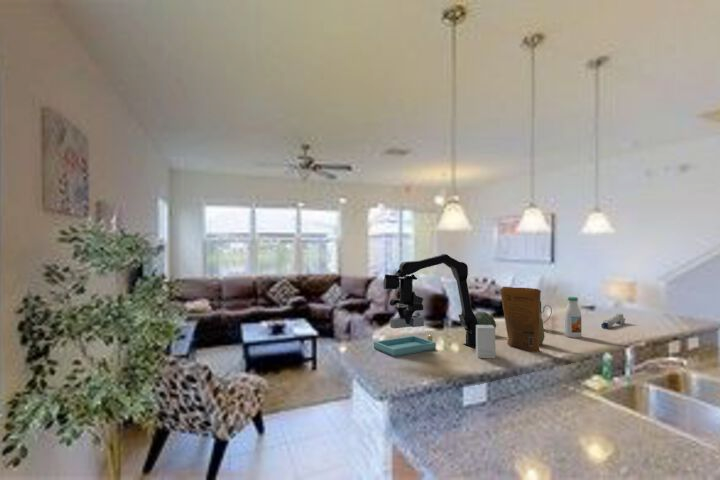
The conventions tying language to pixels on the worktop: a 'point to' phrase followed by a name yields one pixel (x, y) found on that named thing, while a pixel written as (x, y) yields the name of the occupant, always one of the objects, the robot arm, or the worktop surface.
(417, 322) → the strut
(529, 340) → the pancake mix bag
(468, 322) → the robot arm
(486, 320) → the vegetable
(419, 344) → the bin
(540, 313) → the glass holder
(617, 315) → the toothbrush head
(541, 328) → the squeeze bottle
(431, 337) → the ball stud
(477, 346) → the supplement box
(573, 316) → the milk bottle
